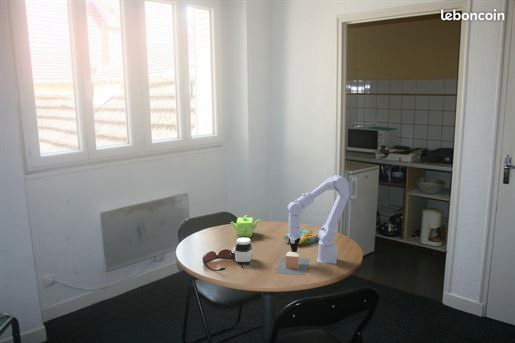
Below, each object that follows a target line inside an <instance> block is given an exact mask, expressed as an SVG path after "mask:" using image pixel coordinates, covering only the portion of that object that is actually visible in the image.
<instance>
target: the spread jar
mask: <svg viewBox="0 0 515 343" xmlns="http://www.w3.org/2000/svg"><path fill="white" fill-rule="evenodd" d="M231 252H232V253H234V254H235V258H234V259H235V263H237V264H240V265H249V264H250V263H251V262H252V259H253V245H252V243H251V238H248V237H242V238H238V237H237V239H236V245H235V246H234V247H233V248H232V249H231ZM231 252H230V253H231Z"/></svg>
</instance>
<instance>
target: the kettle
mask: <svg viewBox="0 0 515 343" xmlns="http://www.w3.org/2000/svg"><path fill="white" fill-rule="evenodd" d="M260 221H261V219H256V220H255V222H254V217H248V215H247V214H245V215H244V216H243V217H237V219H236V223H235V222H234V221H231V222H230V224H231V225H232V227H233V228H234V229H235V230H236V237H237V239H238V238H243V237H246V238H249V239H251V238H252V237H253V234H254V231H255V229H256V228H257V224H258V223H259V222H260Z"/></svg>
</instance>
